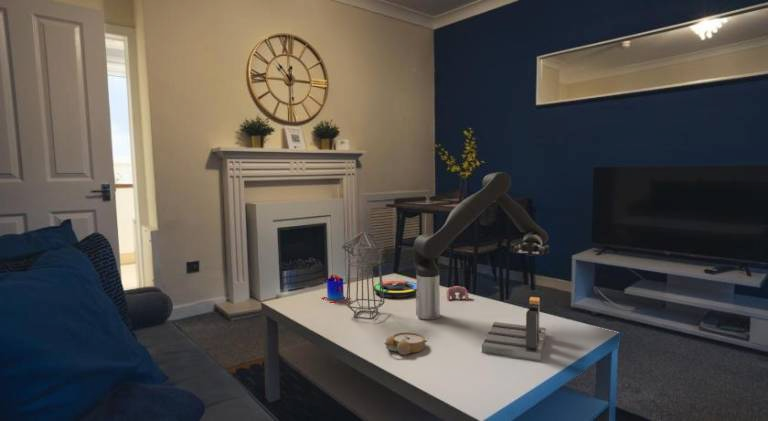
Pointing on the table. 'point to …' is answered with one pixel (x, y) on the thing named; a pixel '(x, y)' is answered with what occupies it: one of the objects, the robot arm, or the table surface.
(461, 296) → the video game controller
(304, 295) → the table surface
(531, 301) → the orange rectangular block
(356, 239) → the geometric lantern
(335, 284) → the fantasy tower
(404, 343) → the alarm clock
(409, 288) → the electronic game
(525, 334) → the grey slotted base
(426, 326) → the table surface
